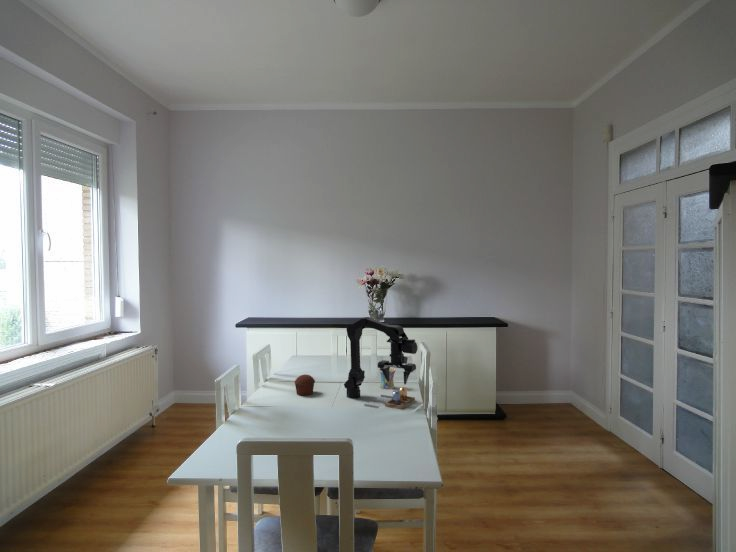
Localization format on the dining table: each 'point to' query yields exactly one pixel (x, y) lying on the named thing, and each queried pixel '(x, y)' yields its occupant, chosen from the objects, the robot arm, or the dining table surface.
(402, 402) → the tray
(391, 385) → the mug
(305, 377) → the muffin
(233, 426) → the dining table surface
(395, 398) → the cylinder
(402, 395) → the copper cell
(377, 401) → the cradle
